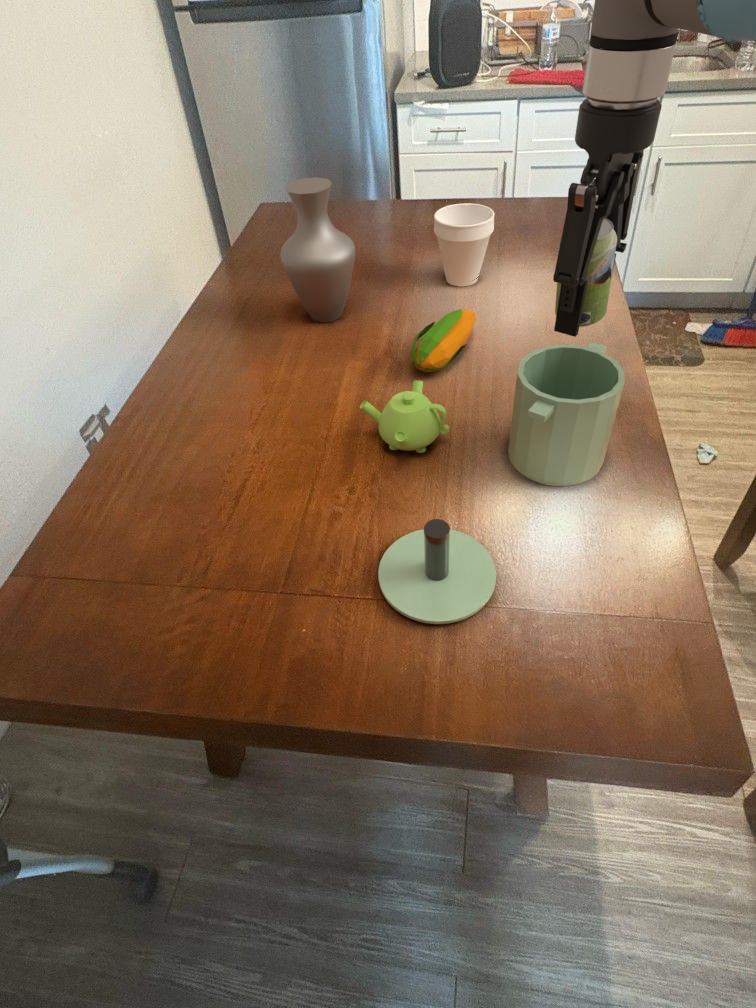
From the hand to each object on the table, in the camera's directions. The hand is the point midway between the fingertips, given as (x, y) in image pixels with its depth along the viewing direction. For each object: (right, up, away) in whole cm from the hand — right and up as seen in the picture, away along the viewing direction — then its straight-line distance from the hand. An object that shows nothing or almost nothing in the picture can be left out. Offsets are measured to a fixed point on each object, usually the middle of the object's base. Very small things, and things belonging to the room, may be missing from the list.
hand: (580, 317), depth 74 cm
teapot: (-21, -13, +21) cm, 32 cm away
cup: (-7, +26, +58) cm, 64 cm away
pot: (+2, -16, +16) cm, 22 cm away
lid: (-18, -32, +1) cm, 36 cm away
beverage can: (0, 0, +1) cm, 1 cm away
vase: (-36, +16, +51) cm, 64 cm away
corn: (-12, +5, +38) cm, 40 cm away
